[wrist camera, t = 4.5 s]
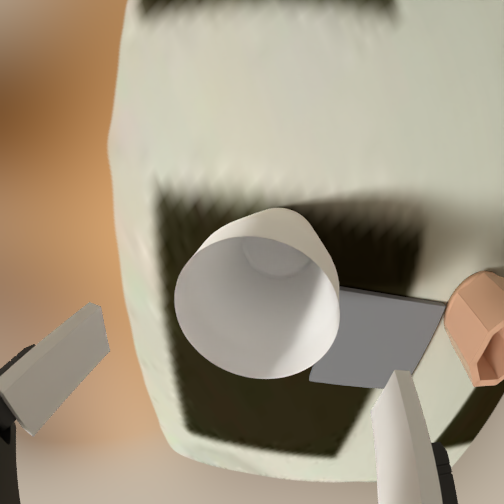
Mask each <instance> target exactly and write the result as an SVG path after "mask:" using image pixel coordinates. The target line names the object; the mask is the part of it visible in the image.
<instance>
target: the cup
mask: <svg viewBox="0 0 504 504" xmlns="http://www.w3.org/2000/svg"><path fill="white" fill-rule="evenodd" d="M174 301H175V311H176V315H177V319H178V322H179V324H180V327H181V329H182V331H183V333H184V334H185V336H186V338H187V339H188V340H189V342H190V343H191V344H192V345H193V347H194V348H195V349H196V350H197V351H198V352H199V353H200V354H201V355H203V356H204V357H205V358H206V359H208V360H209V361H210V362H212V363H213V364H215V365H217V366H218V367H220V368H222V369H224V370H227V371H229V372H231V373H234V374H237V375H241V376H245V377H250V378H258V379H273V378H281V377H286V376H290V375H293V374H296V373H299V372H301V371H303V370H305V369H307V368H309V367H310V366H312V365H313V364H315V363H316V362H317V361H319V360H320V359H321V358H322V357H323V356H324V355H325V354H326V352H327V351H328V350H329V348H330V347H331V345H332V343H333V342H334V339H335V337H336V335H337V331H338V328H339V322H340V307H339V280H338V275H337V271H336V268H335V265H334V263H333V261H332V258H331V257H330V255H329V253H328V251H327V250H326V248H325V247H324V245H323V243H322V242H321V240H320V239H319V237H318V235H317V234H316V232H315V231H314V229H313V228H312V226H311V225H310V223H309V222H308V221H307V220H306V219H305V218H304V217H303V216H302V215H300V214H299V213H297V212H295V211H293V210H290V209H286V208H270V209H267V210H264V211H261V212H258V213H255V214H252V215H250V216H247V217H244V218H241V219H239V220H236V221H234V222H231V223H229V224H227V225H225V226H223V227H222V228H220V229H219V230H217V231H216V232H214V233H213V234H212V235H211V236H209V238H208V239H207V240H206V241H205V242H204V243H203V244H202V246H201V247H200V248H199V249H198V251H197V252H196V253H195V254H194V255H193V256H192V258H191V259H190V260H189V261H188V262H187V264H186V265H185V266H184V268H183V270H182V271H181V273H180V275H179V278H178V280H177V284H176V288H175V297H174Z"/></svg>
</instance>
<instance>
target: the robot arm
mask: <svg viewBox="0 0 504 504" xmlns="http://www.w3.org/2000/svg"><path fill="white" fill-rule="evenodd" d="M109 352H110V349H109V344H108V340H107V335H106V330H105V326H104V320H103V315H102V310H101V306H98V305H95V304H93V303H90V302H89V303H88V304H87V305H85V306H84V307H83V308H81V309H80V310H79V311H78V312H76V313H75V314H74V315H73V316H71V317H70V318H69V319H68V320H66V321H65V322H64V323H63V324H61V325H60V326H59V327H57V328H56V329H55V330H54V331H53V332H51V333H50V334H49V335H48V336H46V337H45V338H44V339H43V340H42V341H40V342H39V343H38V344H37V345H35V344H33V345H31V346H29V347H26V348H24V349H23V350H22V351H21V352H20V353H18V354H17V356H15V357H14V358H13V359H11V361H9V362H8V363H7V364H6V365H4V366H3V367H2V368H1V369H0V504H20V498H19V490H18V480H17V468H16V425H15V423H14V421H15V420H16V419H17V421H18V422H19V424H20V425H21V426H22V427H23V428H24V429H25V430H26V431H27V432H28V433H29V434H31V435H32V436H34V435H35V434H36V433H37V432H38V431H39V430H40V428H41V427H42V426H43V425H44V424H45V423H46V421H47V420H48V419H49V418H50V417H51V416H52V415H53V413H54V412H55V411H56V410H57V409H58V408H59V407H60V405H61V404H62V403H63V402H64V401H65V400H66V399H67V397H68V396H69V395H70V394H71V393H72V392H73V391H74V390H75V388H76V387H77V386H78V385H79V384H80V383H81V382H82V381H83V380H84V379H85V377H86V376H87V375H88V374H89V373H90V372H91V371H92V370H93V369H94V368H95V367H96V366H97V364H98V363H99V362H100V361H101V360H102V359H103V358H104V357H105V356H106V355H107V354H108V353H109ZM371 419H372V427H373V436H374V446H375V457H376V470H377V486H378V504H458V501H457V495H456V490H455V485H454V480H453V475H452V474H451V472H452V471H451V466H450V465H449V463H450V462H449V458H448V454H447V451H446V450H445V448H444V447H443V445H442V444H441V442H436V443H431V441H430V437H429V433H428V429H427V425H426V422H425V418H424V415H423V411H422V408H421V404H420V401H419V398H418V394H417V391H416V388H415V385H414V382H413V379H412V376H411V373H410V371H404V370H394V372H393V374H392V375H391V377H390V379H389V381H388V383H387V384H386V386H385V388H384V390H383V391H382V393H381V395H380V396H379V398H378V400H377V401H376V403H375V405H374V406H373V408H372V409H371Z"/></svg>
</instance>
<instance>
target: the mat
mask: <svg viewBox="0 0 504 504" xmlns="http://www.w3.org/2000/svg"><path fill="white" fill-rule="evenodd" d="M339 307H340V322H339V328H338V331H337V335H336V337H335V339H334V342H333V343H332V345H331V347H330V348H329V350H328V351H327V352H326V354H325V355H324V356H323V357H322V358H321V359H320V360H319V361H317V362H316V363H315V364H314V365H313V367H312V370H311V373H310V376H309V381H314V382H321V383H329V384H337V385H346V386H356V387H367V388H381V389H384V388H385V386H386V384H387V383H388V381H389V379H390V377H391V375H392V374H393V372H394V370H404V371H410V373H411V375H412V373H413V371H414V370H415V368H416V366H417V364H418V362H419V361H420V359H421V357H422V355H423V353H424V351H425V350H426V348H427V346H428V344H429V342H430V340H431V338H432V336H433V334H434V332H435V330H436V327H437V325H438V323H439V321H440V319H441V317H442V314H443V312H444V310H445V307H446V306H445V305H444V303H441V302H434V301H428V300H422V299H415V298H409V297H402V296H396V295H390V294H384V293H378V292H372V291H366V290H360V289H354V288H348V287H342V286H339Z"/></svg>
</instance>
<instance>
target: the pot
mask: <svg viewBox="0 0 504 504" xmlns="http://www.w3.org/2000/svg"><path fill="white" fill-rule="evenodd" d="M444 327H445V330H446V332H447V334H448V335H449V338H450V341H451V344H452V346H453V348H454V349H455V351H456V353H457V355H458V357H459V359H460V361H461V362H462V364H463V366H464V368H465V370H466V372H467V374H468V376H469V378H470V380H471V382H472V384H473V386H474V387H476V386H490V385H497V384H498V383H499V382H501V381H502V380H503V379H504V277H501V276H498V275H496V274H495V273H493V272H491V271H480V272H477V273H474V274H473V275H471V276H469V277H468V278H466V279H465V280H464V281H463V282H462V283H461V284H460V285H459V286H458V287H457V288H456V289H455V291H454V292H453V294H452V295H451V297H450V299H449V301H448V303H447V306H446V309H445V312H444Z"/></svg>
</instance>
